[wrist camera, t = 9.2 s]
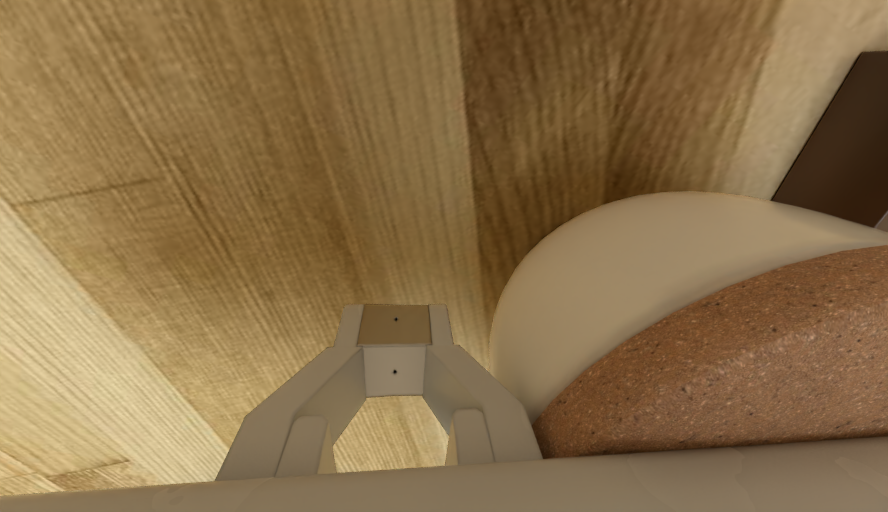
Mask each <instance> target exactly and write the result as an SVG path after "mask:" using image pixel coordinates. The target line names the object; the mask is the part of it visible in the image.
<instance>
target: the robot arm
mask: <svg viewBox="0 0 888 512" xmlns="http://www.w3.org/2000/svg"><path fill="white" fill-rule="evenodd" d="M422 395H423V398H424V400H425V401H426V403H427V404H428V406H429V407H430V409H431V410H432V412H433V413H434V415H435V416H436V418H437V419H438V421H439V422H440V423H441V425H442V426H443V428H444V429H445V431H446V432H447V434H448V435H449V440H448V447H447V454H446V460H445V466H434V467H420V468H405V469H390V470H375V471H360V472H345V473H337V471H336V465H335V459H334V453H333V445H334V444H335V442H336V441H337V439H338V438H339V437H340V435H341V434H342V432H343V431H344V430H345V428H346V427H347V426H348V424H349V423H350V421H351V420H352V419H353V417H354V416H355V414H356V413H357V412H358V410H359V409H360V408H361V406H362V405H363V403H364V402H365V401H366V398H369V397H384V396H422ZM0 512H888V436H877V437H862V438H848V439H833V440H819V441H804V442H790V443H775V444H761V445H746V446H731V447H716V448H700V449H685V450H670V451H655V452H641V453H626V454H611V455H596V456H581V457H566V458H551V459H543V457H542V454H541V452H540V449H539V446H538V443H537V440H536V437H535V435H534V432H533V429H532V426H531V423H530V420H529V418H528V415H527V412H526V409H525V406H524V404H523V403H522V402H520V401H519V400H518V399H517V398H516V397H515V396H514V395H513V394H512V393H511V392H510V391H509V390H507V389H506V388H505V387H504V386H503V385H502V384H501V383H500V382H499V381H498V380H497V379H496V378H494V377H493V376H492V375H491V374H490V373H489V372H488V371H487V370H486V369H485V368H484V367H483V366H482V365H480V364H479V363H478V362H477V361H476V360H475V359H474V358H473V357H472V356H471V355H470V354H469V353H467V352H466V351H465V350H464V349H463V348H462V347H461V346H460V345H454V343H453V337H452V332H451V326H450V321H449V315H448V309H447V305H446V304H428V305H389V304H365V305H364V304H346V305H345V307H344V309H343V313H342V317H341V320H340V324H339V328H338V331H337V335H336V339H335V343H334V346H333V347H327V348H326V349H325V350H324V351H322V352H321V353H320V354H319V355H318V356H316V357H315V358H314V359H313V360H312V361H310V362H309V363H308V364H307V365H306V366H305V367H303V368H302V369H301V370H300V371H299V372H297V373H296V374H295V375H294V376H293V377H291V378H290V379H289V380H288V381H287V382H285V383H284V384H283V385H282V386H281V387H280V388H278V389H277V390H276V391H275V392H274V393H272V394H271V395H270V396H269V397H268V398H266V399H265V400H264V401H263V402H262V403H260V404H259V405H258V406H257V407H256V408H255V409H253V410H252V411H251V412H250V413H249V414H247V415H246V416H245V418H244V420H243V422H242V424H241V427H240V429H239V431H238V433H237V435H236V437H235V439H234V441H233V443H232V445H231V448H230V450H229V452H228V454H227V456H226V458H225V460H224V462H223V464H222V467H221V469H220V471H219V473H218V475H217V477H216V479H215V481H211V482H197V483H182V484H167V485H152V486H137V487H122V488H107V489H92V490H78V491H63V492H48V493H33V494H18V495H3V496H0Z"/></svg>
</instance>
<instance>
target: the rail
mask: <svg viewBox="0 0 888 512" xmlns="http://www.w3.org/2000/svg"><path fill="white" fill-rule="evenodd" d="M772 201H773V202H778V203H783V204H788V205H792V206H797V207H801V208H805V209H809V210H813V211H817V212H821V213H825V214H828V215H832V216H835V217H838V218H842V219H845V220H848V221H852V222H855V223H859V224H862V225H865V226H869V227H872V228H876V229H879V230H882V231H885V232H888V51H870V52H863V53H862V54H861V56H860V57H859V59H858V61H857V62H856V64H855V66H854V67H853V69H852V70H851V72H850V74H849V75H848V77H847V79H846V80H845V82H844V84H843V85H842V87H841V88H840V90H839V92H838V93H837V95H836V97H835V98H834V100H833V102H832V103H831V105H830V106H829V108H828V110H827V111H826V113H825V115H824V116H823V118H822V120H821V121H820V123H819V125H818V126H817V128H816V129H815V131H814V133H813V134H812V136H811V138H810V139H809V141H808V143H807V144H806V146H805V147H804V149H803V151H802V152H801V154H800V156H799V157H798V159H797V161H796V162H795V164H794V166H793V167H792V169H791V170H790V172H789V174H788V175H787V177H786V179H785V180H784V182H783V184H782V185H781V187H780V188H779V190H778V192H777V193H776V195H775V197H774V198H773V200H772Z"/></svg>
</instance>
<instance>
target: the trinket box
mask: <svg viewBox="0 0 888 512" xmlns="http://www.w3.org/2000/svg"><path fill="white" fill-rule="evenodd" d="M489 373H490V374H491V375H492V376H493V377H494V378H496V379H497V380H498V381H499V382H500V383H501V384H502V385H503V386H504V387H505V388H506V389H507V390H509V391H510V392H511V393H512V394H513V395H514V396H515V397H516V398H517V399H518V400H519V401H520V402H522V403H523V404H524V406H525V409H526V412H527V415H528V418H529V420H530V423H531V426H532V429H533V432H534V435H535V437H536V440H537V443H538V446H539V449H540V452H541V454H542V457H543V459H551V458H566V457H581V456H596V455H611V454H626V453H641V452H655V451H670V450H685V449H700V448H716V447H731V446H746V445H761V444H775V443H790V442H804V441H819V440H833V439H848V438H862V437H877V436H888V232H885V231H882V230H879V229H876V228H872V227H869V226H865V225H862V224H859V223H855V222H852V221H848V220H845V219H842V218H838V217H835V216H832V215H828V214H825V213H821V212H817V211H813V210H809V209H805V208H801V207H797V206H792V205H788V204H783V203H778V202H773V201H769V200H764V199H759V198H755V197H750V196H742V195H733V194H724V193H715V192H698V191H676V192H661V193H652V194H644V195H637V196H633V197H629V198H626V199H622V200H618V201H614V202H611V203H607V204H604V205H601V206H599V207H596V208H594V209H592V210H589V211H587V212H584V213H582V214H580V215H578V216H576V217H575V218H573V219H571V220H569V221H568V222H566V223H564V224H562V225H561V226H559V227H558V228H557V229H555V230H554V231H553V232H551V233H550V234H549V235H547V236H546V237H545V238H543V239H542V240H541V241H540V242H539V243H538V244H537V245H536V246H535V247H534V248H533V249H532V250H531V251H530V252H529V253H528V254H527V255H526V256H525V258H524V259H523V260H522V261H521V263H520V264H519V265H518V266H517V267H516V269H515V271H514V272H513V274H512V276H511V277H510V279H509V281H508V282H507V284H506V286H505V288H504V290H503V292H502V294H501V297H500V299H499V302H498V304H497V307H496V309H495V313H494V318H493V323H492V328H491V333H490V338H489Z"/></svg>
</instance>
